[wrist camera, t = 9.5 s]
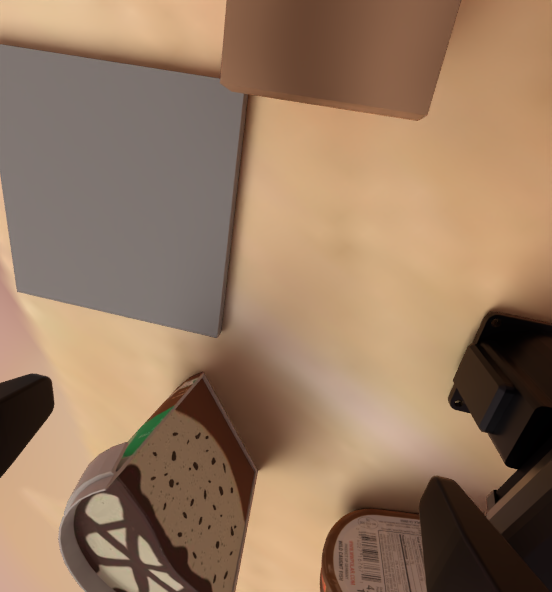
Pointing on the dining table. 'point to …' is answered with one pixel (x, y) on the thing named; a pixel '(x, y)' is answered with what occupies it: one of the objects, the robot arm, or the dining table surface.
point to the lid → (339, 52)
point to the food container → (164, 503)
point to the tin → (374, 553)
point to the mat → (120, 185)
